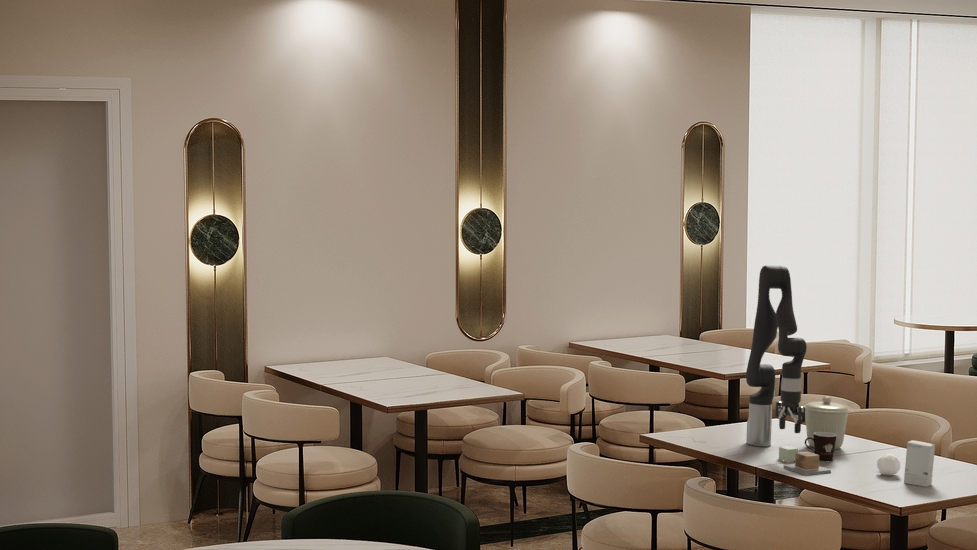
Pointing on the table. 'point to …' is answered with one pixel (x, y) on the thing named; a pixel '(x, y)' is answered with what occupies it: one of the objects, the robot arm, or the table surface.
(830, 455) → the coffee mug
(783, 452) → the sage cube
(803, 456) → the walnut block
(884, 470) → the white rounded lump
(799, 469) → the slate board
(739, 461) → the table surface
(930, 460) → the skincare box
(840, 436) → the canister
